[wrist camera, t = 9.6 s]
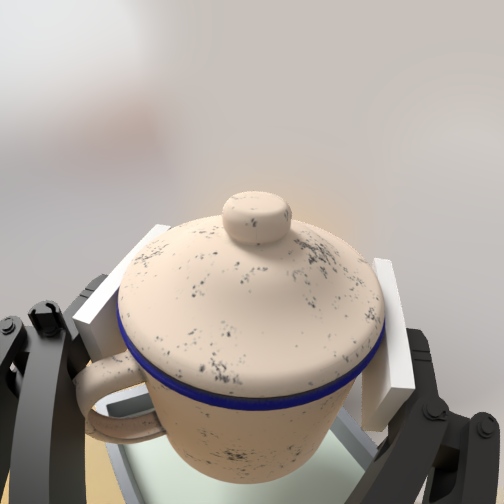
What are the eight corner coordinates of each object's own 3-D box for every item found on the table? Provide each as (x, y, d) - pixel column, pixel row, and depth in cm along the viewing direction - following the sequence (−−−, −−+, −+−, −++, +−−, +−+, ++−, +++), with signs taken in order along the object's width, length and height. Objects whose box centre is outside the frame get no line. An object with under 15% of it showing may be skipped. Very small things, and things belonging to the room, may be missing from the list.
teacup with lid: (267, 329, 21) (284, 149, 14) (363, 428, 14) (465, 236, 8) (89, 397, 15) (7, 204, 9) (154, 544, 9) (-20, 450, 2)
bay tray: (278, 358, 27) (282, 335, 25) (396, 498, 15) (414, 487, 14) (106, 417, 21) (93, 398, 19) (190, 605, 9) (182, 611, 7)
